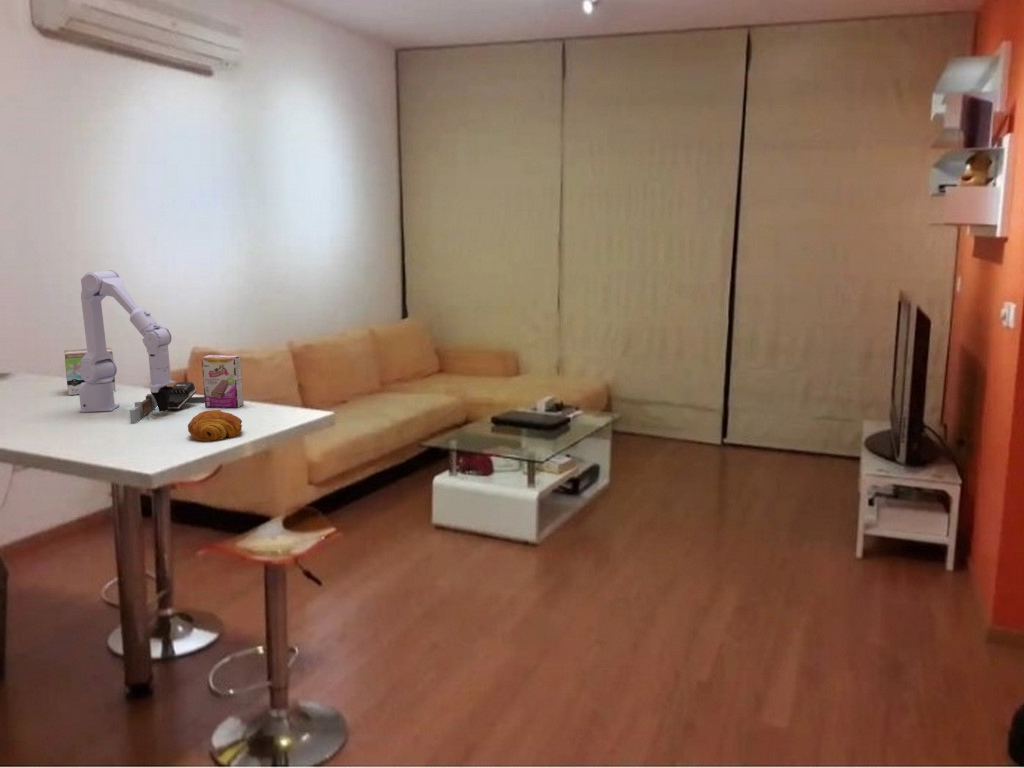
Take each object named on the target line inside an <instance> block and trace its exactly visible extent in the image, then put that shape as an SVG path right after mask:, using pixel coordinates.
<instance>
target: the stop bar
mask: <svg viewBox="0 0 1024 768" xmlns="http://www.w3.org/2000/svg"><path fill="white" fill-rule="evenodd" d="M202 402H204V403H205V397H204V396H192V397H191V398H190V399H189V400H188V401H187V402H186V403H185V404H203V403H202Z"/></svg>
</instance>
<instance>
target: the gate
mask: <svg viewBox="0 0 1024 768" xmlns="http://www.w3.org/2000/svg"><path fill="white" fill-rule="evenodd" d="M141 402H142V411H143V417H144V416H145V415H146V414H148V413H150V412H151V410H152V409H153V407H152V396H147V395H145V399H144V400H142V401H141ZM152 411H153V410H152Z"/></svg>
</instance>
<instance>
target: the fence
mask: <svg viewBox="0 0 1024 768" xmlns="http://www.w3.org/2000/svg"><path fill="white" fill-rule="evenodd" d="M146 396H152V407H153V409H152V411H155V410H156V409H157V408H158V407H157V403H156V400H155V398H154V396H153V395H152V394H151V393H148V394H147V395H146ZM156 407H157V408H156ZM155 408H156V409H155ZM154 409H155V410H154ZM129 418H130V423H131V424H137V423H138V422H139V421H140V419H141V420H143V419H144V416H143V411H142V401H136V402H134V407H132V408H131V409H130V410H129ZM142 418H143V419H142ZM138 420H139V421H138ZM137 421H138V422H137Z"/></svg>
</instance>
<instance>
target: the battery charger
mask: <svg viewBox="0 0 1024 768" xmlns="http://www.w3.org/2000/svg"><path fill="white" fill-rule="evenodd" d="M172 387H173V389H172V392H171V394H170V398H169V404H168V410H169V411H170V410H172V411H174V410H176V411H178V410H179V411H180V409H182V408H183V406H184V405H185V404H187V403H186V402H187V401H188V400H189V399H190V398H191V397H194V395H195V394H196V393H197V388H196V387H195V384H194V382H191V381H179V382H177V383H176V382H175V383H174V384H173V386H172ZM168 410H167V411H168Z"/></svg>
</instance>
